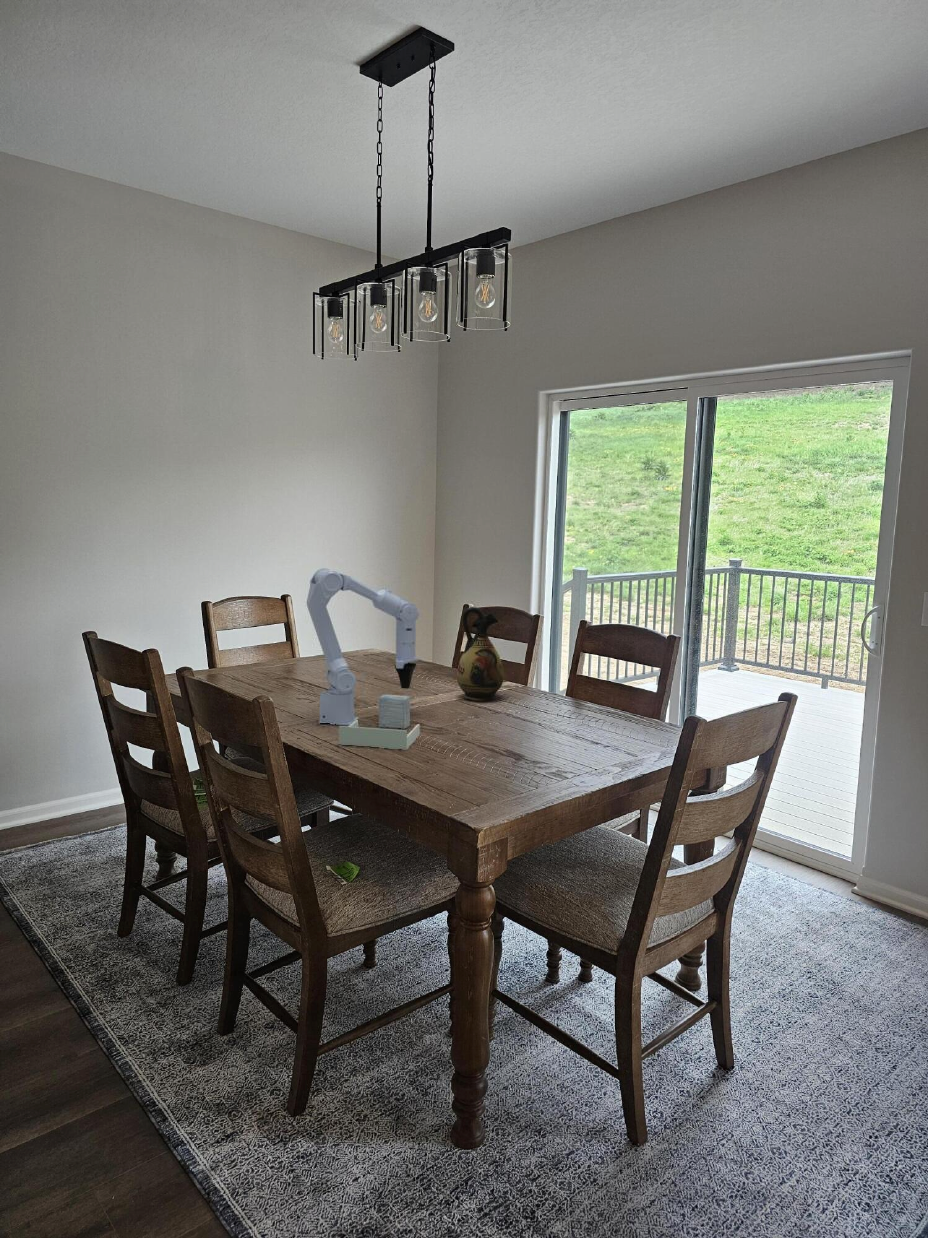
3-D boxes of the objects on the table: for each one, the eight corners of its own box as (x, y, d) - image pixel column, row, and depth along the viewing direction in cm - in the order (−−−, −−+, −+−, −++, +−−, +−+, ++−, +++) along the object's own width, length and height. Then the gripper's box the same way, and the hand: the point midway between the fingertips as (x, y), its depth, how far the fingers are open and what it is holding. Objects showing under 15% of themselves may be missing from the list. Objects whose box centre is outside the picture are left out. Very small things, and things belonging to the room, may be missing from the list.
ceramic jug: (504, 694, 274) (506, 605, 270) (502, 704, 258) (504, 611, 255) (454, 692, 275) (455, 604, 271) (448, 702, 260) (450, 609, 256)
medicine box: (410, 725, 231) (410, 696, 230) (404, 729, 227) (405, 699, 226) (384, 723, 233) (384, 693, 232) (378, 727, 229) (378, 697, 228)
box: (338, 745, 210) (338, 726, 210) (356, 730, 225) (356, 713, 224) (406, 750, 207) (406, 731, 207) (419, 735, 221) (419, 717, 221)
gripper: (413, 647, 231) (412, 694, 233) (424, 639, 245) (424, 683, 247) (389, 646, 232) (388, 692, 234) (401, 638, 246) (401, 682, 248)
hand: (405, 688), depth 240 cm, fingers closed
